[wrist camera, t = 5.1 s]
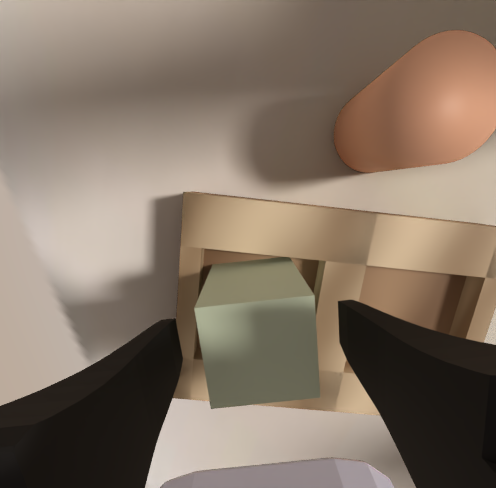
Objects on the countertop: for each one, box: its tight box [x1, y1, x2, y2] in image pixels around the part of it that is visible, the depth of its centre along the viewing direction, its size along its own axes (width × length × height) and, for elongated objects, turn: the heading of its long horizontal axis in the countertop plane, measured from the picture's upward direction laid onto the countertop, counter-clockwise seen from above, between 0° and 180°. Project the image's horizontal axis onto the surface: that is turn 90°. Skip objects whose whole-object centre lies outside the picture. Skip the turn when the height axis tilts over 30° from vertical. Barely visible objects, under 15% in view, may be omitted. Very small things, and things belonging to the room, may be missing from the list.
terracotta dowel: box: [334, 30, 496, 173], centre depth 11 cm, size 4×4×5 cm
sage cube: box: [194, 257, 320, 409], centre depth 11 cm, size 4×4×5 cm
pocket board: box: [173, 192, 496, 415], centre depth 14 cm, size 16×11×2 cm
